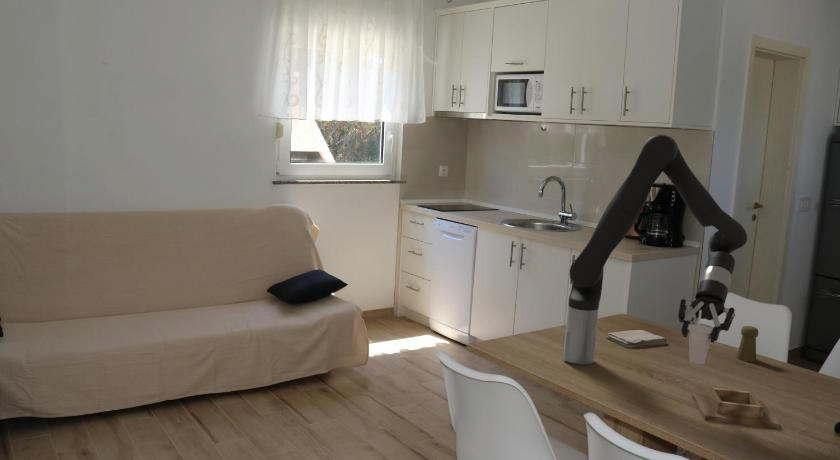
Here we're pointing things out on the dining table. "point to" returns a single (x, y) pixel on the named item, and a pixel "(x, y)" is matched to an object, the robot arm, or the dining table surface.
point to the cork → (748, 344)
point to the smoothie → (699, 341)
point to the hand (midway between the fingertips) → (698, 338)
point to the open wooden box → (734, 408)
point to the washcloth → (636, 338)
